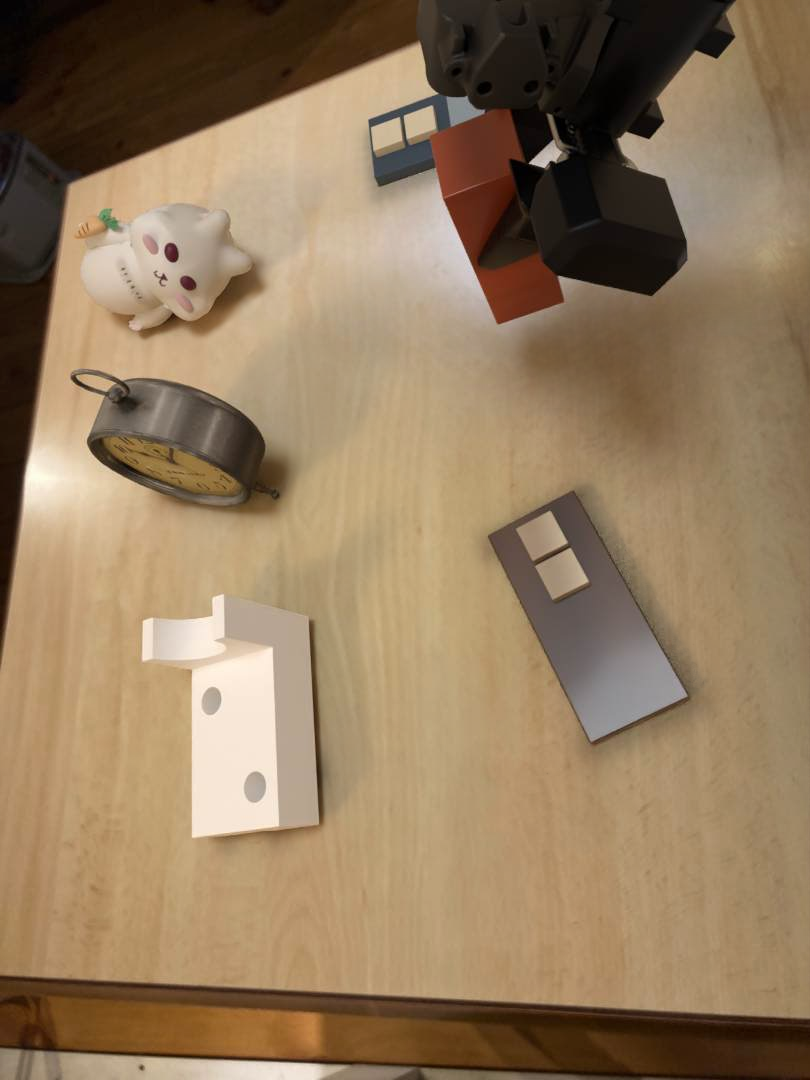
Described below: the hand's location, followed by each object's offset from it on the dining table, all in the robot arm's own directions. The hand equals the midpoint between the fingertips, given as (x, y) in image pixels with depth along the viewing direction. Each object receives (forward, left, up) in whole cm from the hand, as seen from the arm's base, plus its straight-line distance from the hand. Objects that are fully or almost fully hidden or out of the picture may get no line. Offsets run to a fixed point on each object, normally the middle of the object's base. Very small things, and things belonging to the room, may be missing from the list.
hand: (477, 233), depth 44 cm
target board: (-5, -21, -13) cm, 26 cm away
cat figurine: (+21, -22, -14) cm, 33 cm away
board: (+5, +17, -13) cm, 22 cm away
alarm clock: (+23, -4, -14) cm, 27 cm away
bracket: (+27, +14, -14) cm, 33 cm away
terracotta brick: (-1, 0, -6) cm, 6 cm away
